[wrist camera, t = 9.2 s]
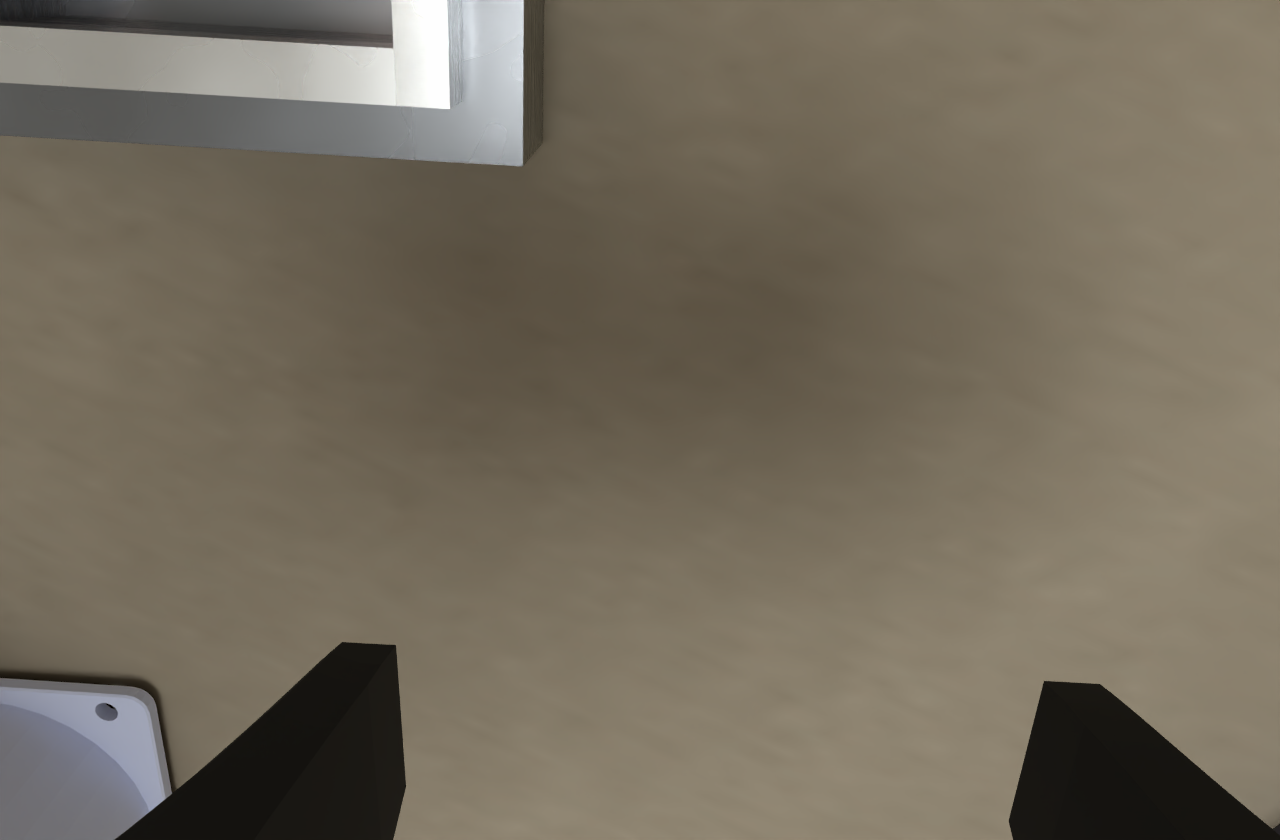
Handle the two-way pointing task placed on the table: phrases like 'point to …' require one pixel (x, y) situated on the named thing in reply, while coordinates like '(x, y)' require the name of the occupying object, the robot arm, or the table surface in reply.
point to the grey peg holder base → (280, 75)
